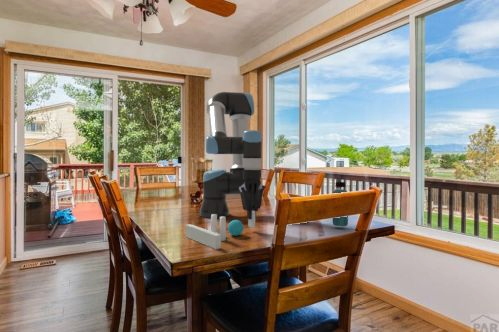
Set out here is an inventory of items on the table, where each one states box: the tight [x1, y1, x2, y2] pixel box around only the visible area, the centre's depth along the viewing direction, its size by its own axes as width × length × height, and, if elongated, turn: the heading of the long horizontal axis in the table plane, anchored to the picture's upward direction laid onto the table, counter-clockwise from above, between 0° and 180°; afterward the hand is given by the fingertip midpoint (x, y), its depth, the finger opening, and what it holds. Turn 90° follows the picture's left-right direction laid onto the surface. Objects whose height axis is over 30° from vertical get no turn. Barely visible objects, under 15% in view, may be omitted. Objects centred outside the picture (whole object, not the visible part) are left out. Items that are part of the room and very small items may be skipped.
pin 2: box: [219, 216, 227, 242], centre depth 110 cm, size 2×2×8 cm
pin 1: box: [210, 214, 218, 233], centre depth 114 cm, size 2×2×8 cm
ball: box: [227, 219, 244, 237], centre depth 117 cm, size 6×6×6 cm
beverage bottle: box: [332, 181, 349, 227], centre depth 130 cm, size 6×7×20 cm
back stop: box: [185, 223, 222, 250], centre depth 108 cm, size 20×2×4 cm, turn 41°
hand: (251, 226), depth 123 cm, fingers closed
